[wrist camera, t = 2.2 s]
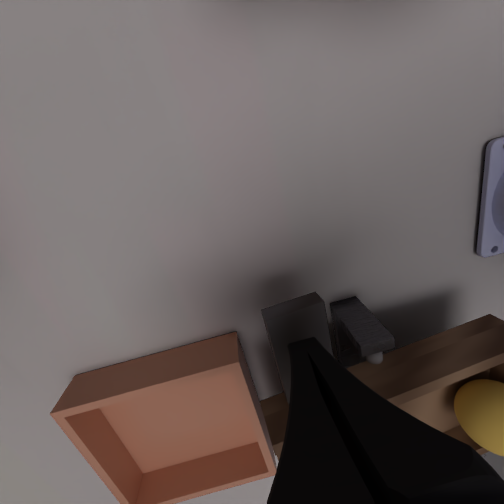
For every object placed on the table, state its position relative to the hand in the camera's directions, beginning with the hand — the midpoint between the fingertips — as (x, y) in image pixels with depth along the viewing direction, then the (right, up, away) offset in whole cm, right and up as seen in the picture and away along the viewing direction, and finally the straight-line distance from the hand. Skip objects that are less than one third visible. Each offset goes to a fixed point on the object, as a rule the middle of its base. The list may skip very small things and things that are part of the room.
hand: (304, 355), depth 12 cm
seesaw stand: (+6, -4, +9) cm, 11 cm away
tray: (-8, -8, +9) cm, 14 cm away
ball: (+12, -5, +3) cm, 14 cm away
